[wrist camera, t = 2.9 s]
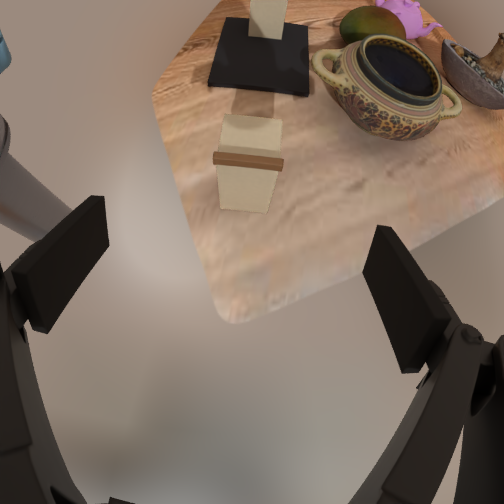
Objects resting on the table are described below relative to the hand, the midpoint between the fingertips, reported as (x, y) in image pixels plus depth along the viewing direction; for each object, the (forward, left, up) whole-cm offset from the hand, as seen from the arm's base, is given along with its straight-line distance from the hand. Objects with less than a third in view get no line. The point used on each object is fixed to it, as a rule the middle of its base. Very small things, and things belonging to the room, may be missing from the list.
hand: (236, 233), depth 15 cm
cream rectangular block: (0, +14, -24) cm, 28 cm away
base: (0, +42, -24) cm, 48 cm away
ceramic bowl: (+19, +31, -25) cm, 44 cm away
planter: (+44, +46, -25) cm, 68 cm away
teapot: (+30, +63, -25) cm, 74 cm away
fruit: (+20, +50, -25) cm, 59 cm away
